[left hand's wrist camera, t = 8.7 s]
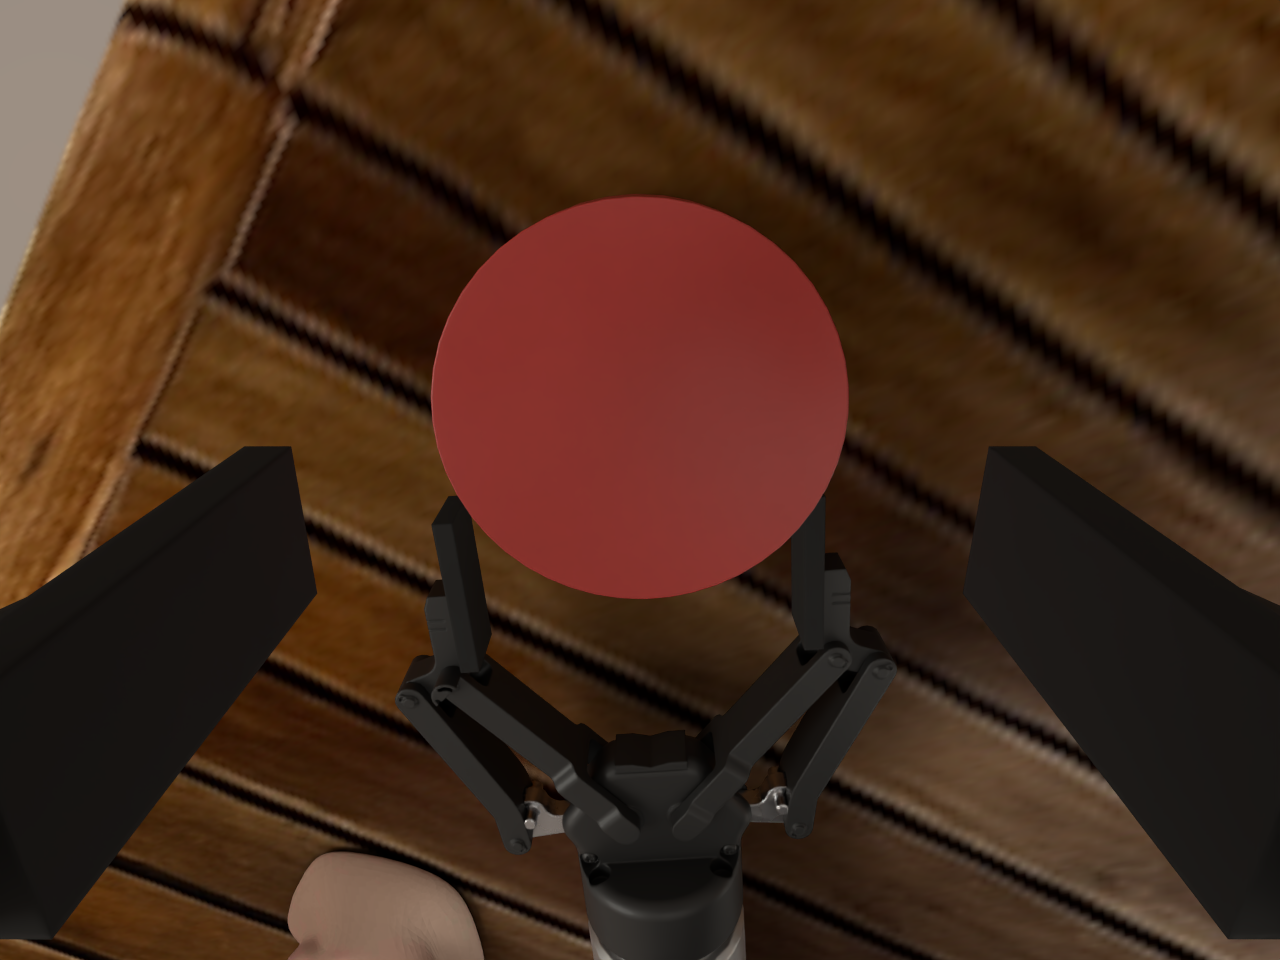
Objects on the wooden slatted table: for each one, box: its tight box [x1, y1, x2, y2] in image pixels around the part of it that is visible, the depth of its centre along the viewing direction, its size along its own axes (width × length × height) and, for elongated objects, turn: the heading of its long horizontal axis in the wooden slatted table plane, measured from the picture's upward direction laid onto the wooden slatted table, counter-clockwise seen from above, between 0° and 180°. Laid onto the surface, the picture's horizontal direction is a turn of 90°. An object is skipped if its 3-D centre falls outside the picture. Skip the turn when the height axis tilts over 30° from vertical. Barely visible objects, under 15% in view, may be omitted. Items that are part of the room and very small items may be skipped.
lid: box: [431, 194, 849, 599], centre depth 19 cm, size 10×10×2 cm
